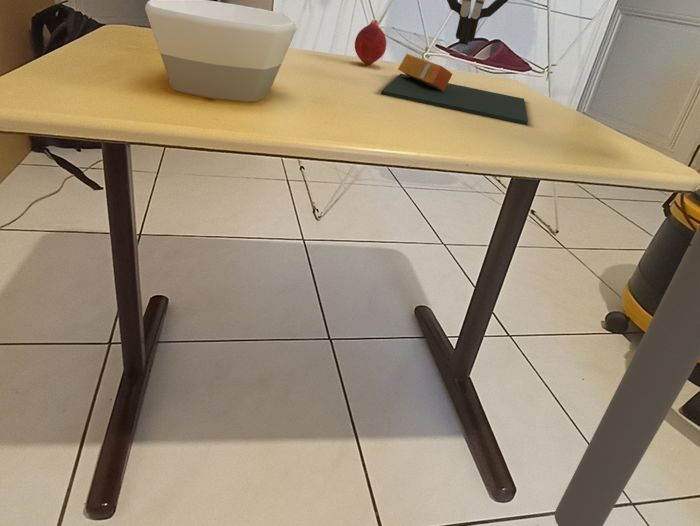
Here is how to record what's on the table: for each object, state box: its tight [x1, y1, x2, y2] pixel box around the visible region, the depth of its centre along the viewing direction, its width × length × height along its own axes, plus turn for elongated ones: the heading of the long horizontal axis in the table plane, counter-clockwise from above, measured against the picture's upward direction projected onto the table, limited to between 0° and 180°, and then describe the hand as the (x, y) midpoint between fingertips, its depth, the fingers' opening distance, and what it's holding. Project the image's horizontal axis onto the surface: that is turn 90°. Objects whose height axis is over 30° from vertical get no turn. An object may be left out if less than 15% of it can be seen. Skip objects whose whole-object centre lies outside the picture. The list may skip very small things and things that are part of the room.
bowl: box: [144, 0, 297, 103], centre depth 70 cm, size 18×18×9 cm
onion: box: [354, 19, 387, 67], centre depth 102 cm, size 6×6×8 cm
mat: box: [380, 73, 529, 126], centre depth 90 cm, size 22×18×1 cm
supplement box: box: [397, 53, 453, 91], centre depth 93 cm, size 3×3×10 cm
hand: (463, 43), depth 87 cm, fingers closed
